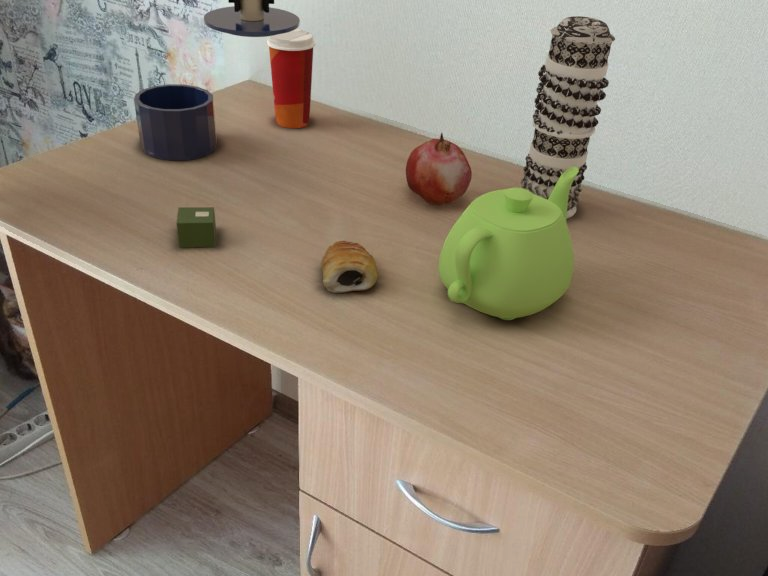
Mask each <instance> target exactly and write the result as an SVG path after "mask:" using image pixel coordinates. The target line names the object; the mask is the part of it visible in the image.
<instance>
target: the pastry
mask: <svg viewBox="0 0 768 576" xmlns="http://www.w3.org/2000/svg"><path fill="white" fill-rule="evenodd" d="M320 267H321V270H322V279H323V280H322V284H323V286H324V287H325V289H326V290H327V291H328V292H330V293H334V294H335V293H347V292H353V291H366V290H368V289H370V288H372V287H374V286H375V284H376V283H377V280H378V278H379V269H378V265H377V263H376V261H375V258H374V257H373V255H371V254H370V253H369V251H368V250H367V249H366V247H364V246H363V245H361V244H360V243H358V242H353V241H347V240H339V241H336V242H334V243H333V244H332V245H329V246H328V247H327V249H326V251H325V252H324V256H323V257H322V260H321V262H320Z"/></svg>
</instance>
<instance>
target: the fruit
mask: <svg viewBox="0 0 768 576" xmlns="http://www.w3.org/2000/svg"><path fill="white" fill-rule="evenodd" d="M472 177H473V173H472V167H471V166H470V163H469V161H468V158H467V156H466V155H465V152H464V151H463V149H461V147H459V145H458V144H456V143H454V142H451V141H450V140H447V139H445V138H444V134H443V132H441V133H440V136H439V138H431V139H430V140H428V141H425V142H424V143H421V144H420V145H418V146H416V147H415V148H413V150H412V151H411V152H410V154H409V156H408V158H407V161H406V165H405V178H406V183H407V186H408V188H409V190H410V191H411V192H412V193H414V194H415V195H416V196H418V197H420V198H421V199H422V200H423V201H425V202H426V203H428V204H429V205H432V206H440V205H445V204H451V203H452V202H454V201H456V200H458V199H459V198H461V197H462V196H463V195H464V194H465V193H466V192H467V190H468V189H469V187H470V183H471V181H472Z"/></svg>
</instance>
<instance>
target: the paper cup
mask: <svg viewBox="0 0 768 576" xmlns="http://www.w3.org/2000/svg"><path fill="white" fill-rule="evenodd" d="M266 44H267V47H268V50H269V62H270V72H271V73H270V74H271V85H272V95H273V106H274V115H275V123H276V125H278V126H280V127H282V128H286V129H301V128H305V127H307V126H309V124H310V114H311V100H312V98H311V97H312V82H313V81H312V79H313V64H314V63H313V61H314V60H313V59H314V47H315V46H316V42H315V40H314V36H313V34H312V33H310V32H307V31H305V30H303V29H300V28H299V29H298V28H297V29H295V30H293V31H290V32H287V33H283V34H278V35H273V36H268V38H267V41H266Z"/></svg>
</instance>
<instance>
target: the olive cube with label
mask: <svg viewBox="0 0 768 576" xmlns="http://www.w3.org/2000/svg"><path fill="white" fill-rule="evenodd" d="M215 213H216V212H215V206H197V207H196V206H193V207H178V209H177V216H176V230H177V238H178V239H177V240H178V245H179V248H215V247H216V242H217V241H216V239H217V225H216V214H215Z"/></svg>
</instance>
